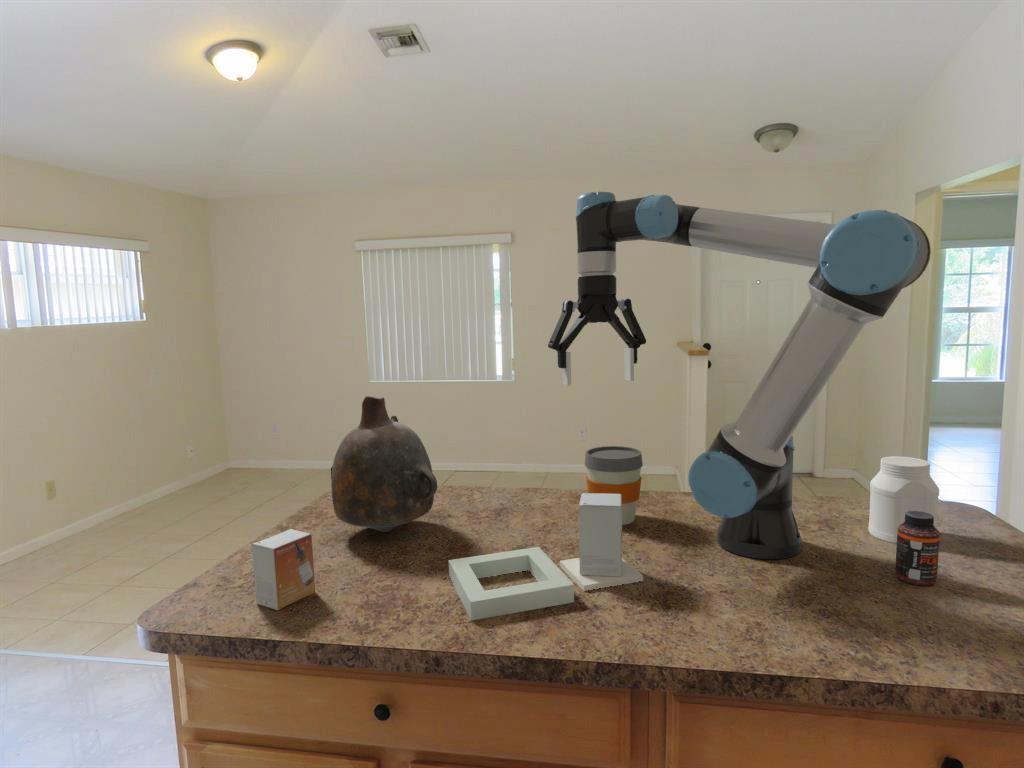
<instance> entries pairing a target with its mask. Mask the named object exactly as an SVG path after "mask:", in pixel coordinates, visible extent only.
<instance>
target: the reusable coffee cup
mask: <svg viewBox="0 0 1024 768" xmlns="http://www.w3.org/2000/svg"><path fill="white" fill-rule="evenodd" d="M584 459H585V460H584V466H585V467H586V472H587V476H585V477H586V485H587V486H586V487H587V493H604V494H621V497H622V526H625V525H629V524H632V523H633V522H635V519H636V512H637V511H636V510H637V503H638V500H639V499H640V493H641V487H642V486H641V485H642V476H641V470H642V467H643V465H644V464H643V455H642V452H641V450H639V449H637V448H635V447H629V446H620V445H619V446H617V445H613V446H612V445H611V446H609V445H608V446H605V445H603V446H597V447H591V448H590V449H587V450H586V451H585V458H584Z"/></svg>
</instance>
